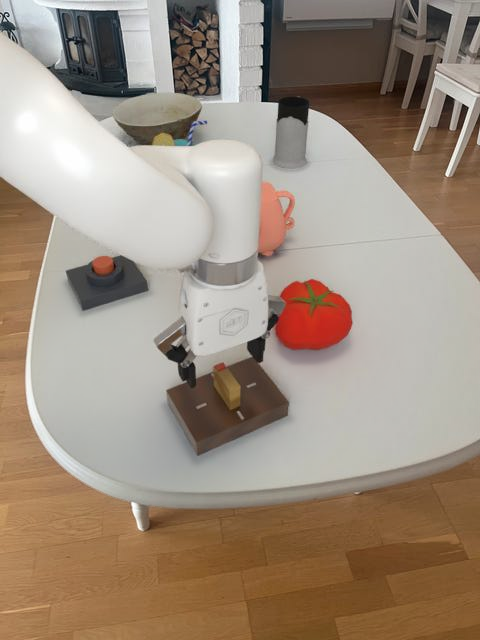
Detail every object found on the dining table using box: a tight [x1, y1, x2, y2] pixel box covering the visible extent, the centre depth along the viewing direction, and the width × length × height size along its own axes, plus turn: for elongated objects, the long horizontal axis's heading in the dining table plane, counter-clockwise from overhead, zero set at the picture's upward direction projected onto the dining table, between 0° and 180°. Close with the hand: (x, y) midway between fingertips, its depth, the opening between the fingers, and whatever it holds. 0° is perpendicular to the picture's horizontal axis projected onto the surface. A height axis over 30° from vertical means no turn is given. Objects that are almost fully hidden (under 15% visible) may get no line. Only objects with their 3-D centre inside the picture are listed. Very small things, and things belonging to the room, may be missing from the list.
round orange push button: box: [91, 255, 114, 275], centre depth 92 cm, size 4×4×2 cm
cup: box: [152, 120, 208, 146], centre depth 119 cm, size 14×8×15 cm, turn 129°
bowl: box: [112, 92, 203, 145], centre depth 141 cm, size 24×24×10 cm
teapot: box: [258, 180, 296, 257], centre depth 102 cm, size 16×17×14 cm
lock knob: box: [212, 362, 241, 410], centre depth 70 cm, size 5×2×4 cm, turn 28°
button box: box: [65, 254, 149, 311], centre depth 94 cm, size 12×10×4 cm
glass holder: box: [272, 95, 310, 169], centre depth 132 cm, size 9×14×15 cm, turn 166°
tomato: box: [274, 278, 353, 351], centre depth 82 cm, size 14×13×9 cm
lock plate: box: [165, 356, 290, 457], centre depth 73 cm, size 14×10×3 cm
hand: (222, 367), depth 68 cm, fingers open, 9 cm apart
